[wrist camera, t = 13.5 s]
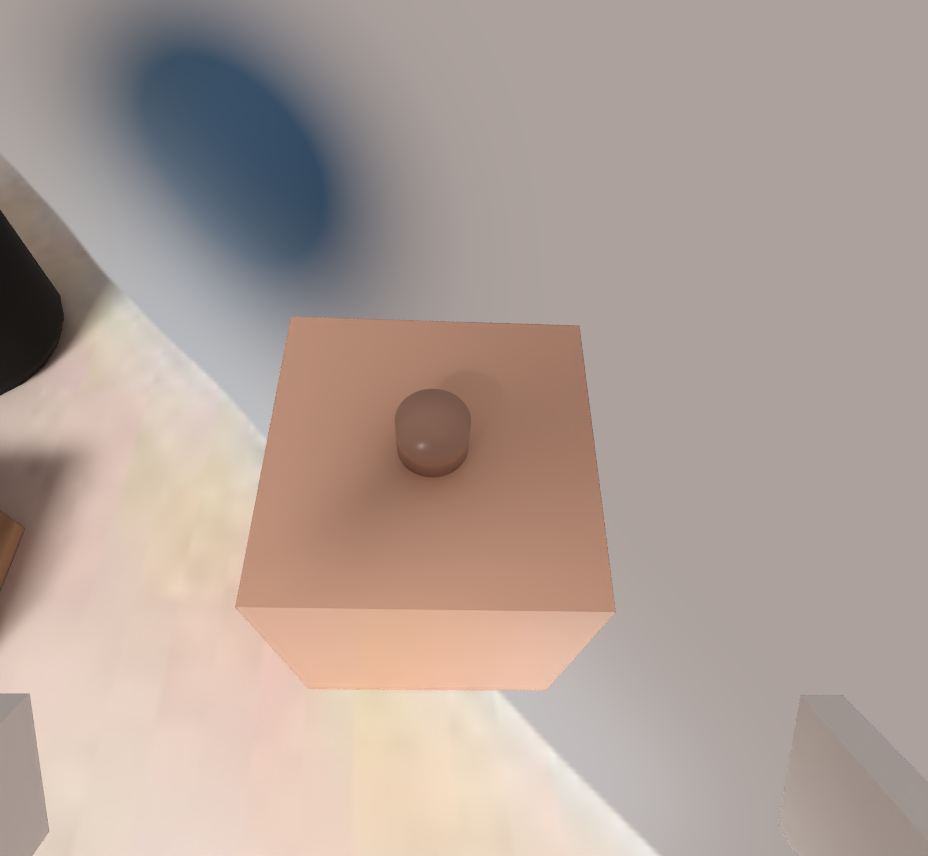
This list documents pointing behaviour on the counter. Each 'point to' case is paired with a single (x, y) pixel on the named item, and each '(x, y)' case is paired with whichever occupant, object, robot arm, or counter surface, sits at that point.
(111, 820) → the counter surface
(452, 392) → the cube with knob
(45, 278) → the coffee jar
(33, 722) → the robot arm
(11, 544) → the walnut open box
